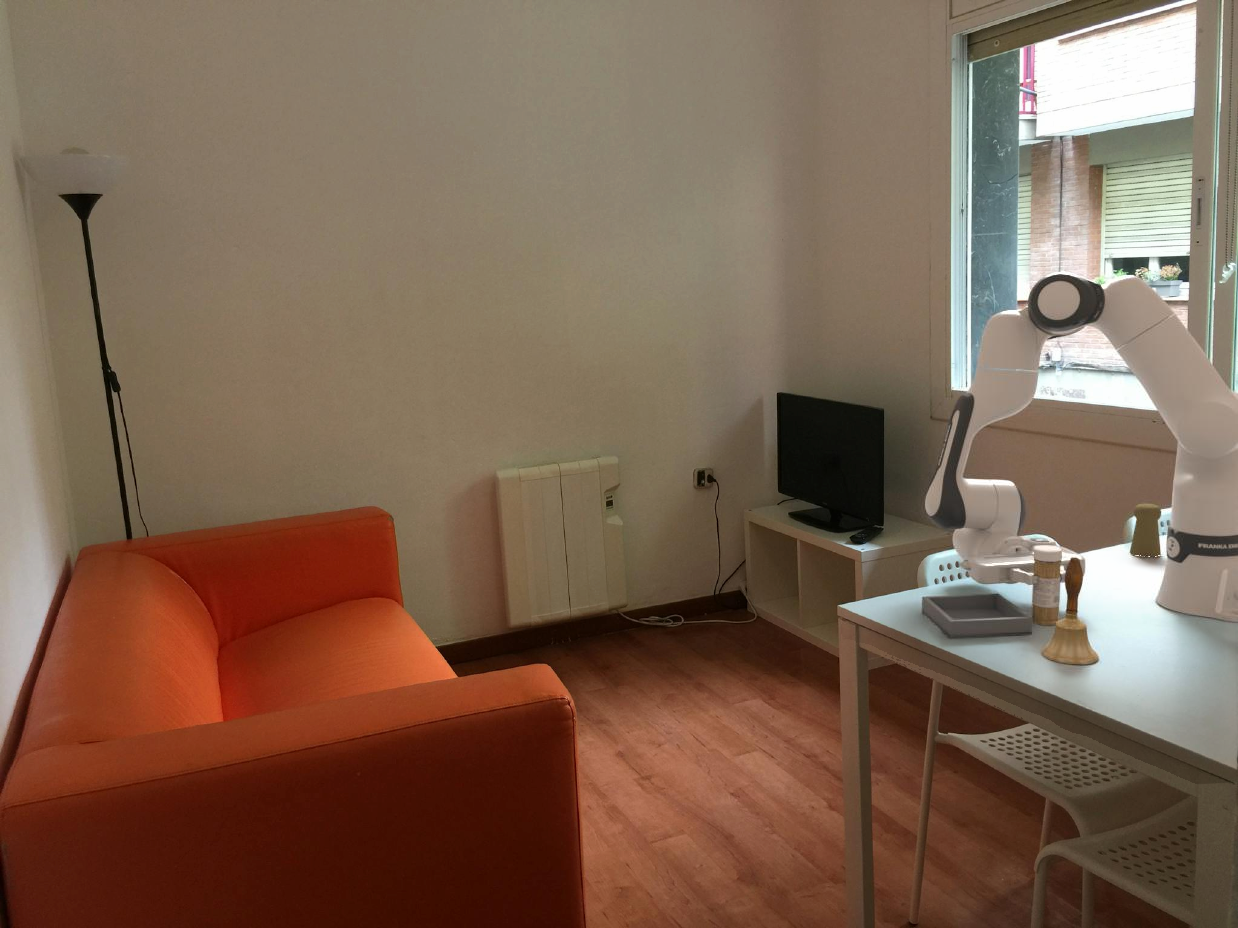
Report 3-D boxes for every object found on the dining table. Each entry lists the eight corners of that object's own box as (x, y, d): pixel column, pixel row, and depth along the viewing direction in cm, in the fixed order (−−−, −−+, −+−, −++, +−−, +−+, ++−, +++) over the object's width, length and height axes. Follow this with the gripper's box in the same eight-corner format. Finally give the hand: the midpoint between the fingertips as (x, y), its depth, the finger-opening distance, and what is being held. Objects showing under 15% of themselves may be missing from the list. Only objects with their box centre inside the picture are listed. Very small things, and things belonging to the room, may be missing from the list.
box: (997, 609, 179) (998, 593, 178) (1032, 634, 165) (1032, 617, 164) (921, 612, 178) (922, 596, 178) (950, 638, 164) (950, 621, 164)
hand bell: (1045, 643, 161) (1048, 549, 158) (1101, 651, 157) (1105, 554, 154) (1037, 660, 154) (1041, 562, 151) (1096, 668, 150) (1101, 567, 147)
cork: (1166, 557, 209) (1169, 506, 207) (1138, 558, 209) (1140, 507, 207) (1152, 550, 215) (1154, 501, 213) (1124, 550, 215) (1126, 501, 213)
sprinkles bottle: (1043, 616, 174) (1046, 543, 172) (1064, 623, 170) (1068, 548, 168) (1024, 620, 172) (1027, 546, 170) (1046, 628, 168) (1049, 552, 166)
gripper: (955, 546, 181) (993, 565, 167) (1059, 539, 183) (1104, 557, 169) (955, 579, 182) (992, 601, 168) (1058, 571, 184) (1103, 592, 170)
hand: (1049, 579), depth 169 cm, fingers open, 4 cm apart
